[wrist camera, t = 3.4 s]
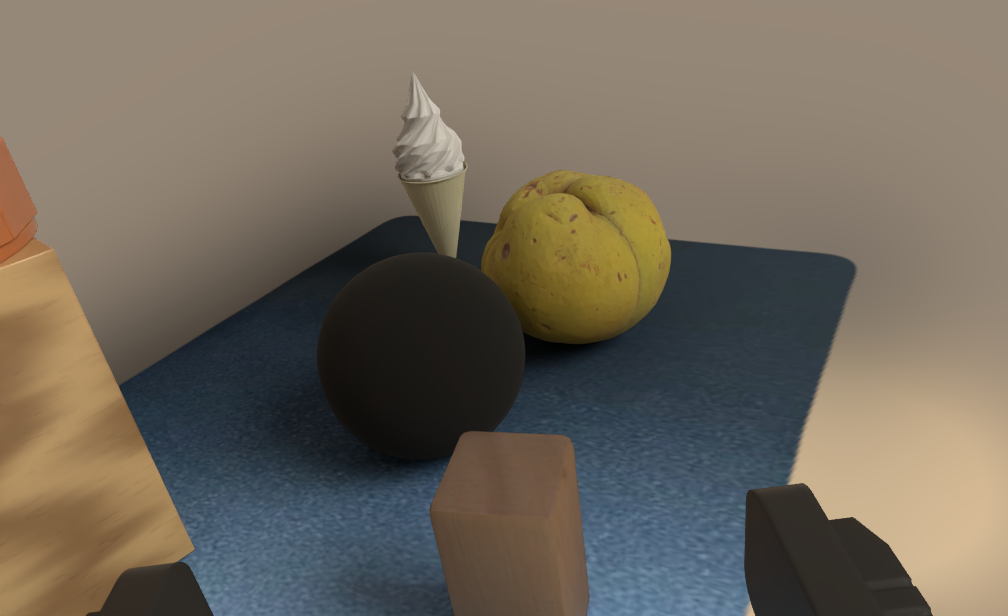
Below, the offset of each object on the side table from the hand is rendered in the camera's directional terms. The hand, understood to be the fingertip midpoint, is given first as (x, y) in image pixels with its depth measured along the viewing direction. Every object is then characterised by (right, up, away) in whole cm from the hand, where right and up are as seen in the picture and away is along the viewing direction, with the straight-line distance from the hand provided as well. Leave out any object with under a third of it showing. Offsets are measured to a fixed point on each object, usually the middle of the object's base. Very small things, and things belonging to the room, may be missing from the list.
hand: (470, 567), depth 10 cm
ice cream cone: (-4, +6, +45) cm, 45 cm away
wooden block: (+1, -8, +16) cm, 18 cm away
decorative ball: (-3, -3, +27) cm, 27 cm away
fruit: (+5, +2, +34) cm, 35 cm away
